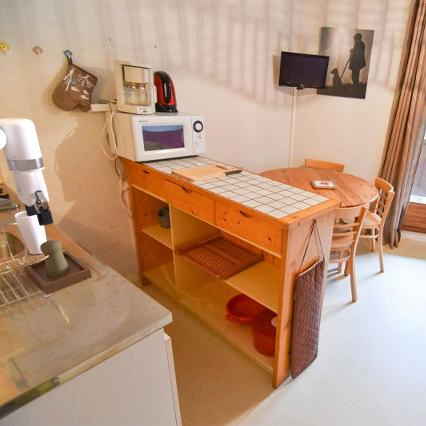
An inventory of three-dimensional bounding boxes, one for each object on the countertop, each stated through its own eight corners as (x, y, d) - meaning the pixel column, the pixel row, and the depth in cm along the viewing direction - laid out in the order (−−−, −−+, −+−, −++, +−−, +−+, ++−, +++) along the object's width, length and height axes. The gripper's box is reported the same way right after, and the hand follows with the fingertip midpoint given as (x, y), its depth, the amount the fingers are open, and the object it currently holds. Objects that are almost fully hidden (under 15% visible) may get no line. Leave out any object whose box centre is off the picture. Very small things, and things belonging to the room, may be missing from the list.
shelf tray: (92, 277, 104) (90, 269, 102) (46, 294, 94) (44, 286, 93) (69, 257, 113) (67, 250, 111) (25, 271, 103) (23, 264, 102)
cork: (48, 279, 99) (39, 248, 95) (44, 271, 103) (35, 241, 98) (71, 272, 103) (64, 242, 99) (67, 264, 107) (59, 235, 103)
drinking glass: (50, 245, 119) (39, 208, 113) (52, 252, 115) (41, 214, 109) (26, 250, 115) (13, 212, 109) (27, 258, 110) (14, 219, 104)
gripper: (-2, 159, 90) (14, 214, 97) (18, 172, 82) (34, 232, 88) (31, 156, 96) (45, 208, 102) (54, 168, 87) (67, 224, 94)
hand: (40, 219), depth 95 cm, fingers open, 9 cm apart
